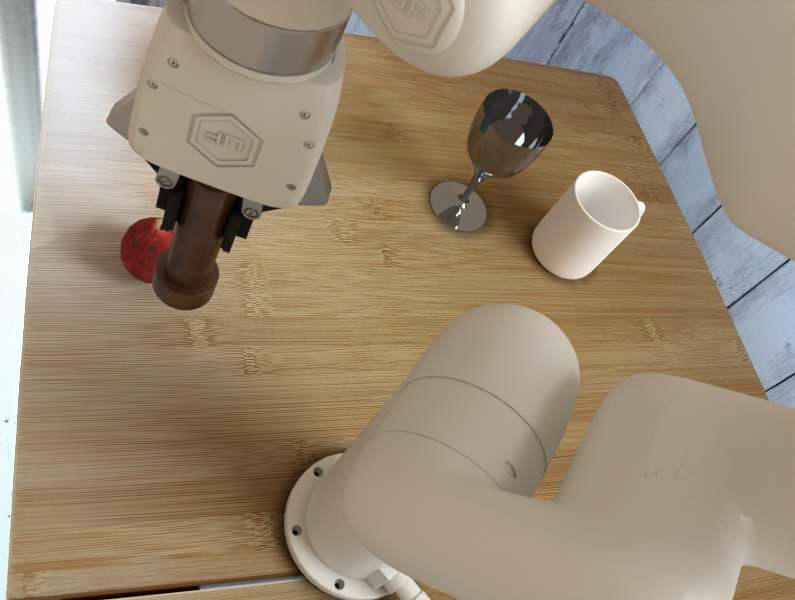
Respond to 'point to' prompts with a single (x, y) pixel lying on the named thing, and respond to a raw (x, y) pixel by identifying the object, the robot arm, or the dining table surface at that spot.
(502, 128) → the wine glass
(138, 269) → the red round fruit
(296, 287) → the dining table surface
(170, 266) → the pestle
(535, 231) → the cup
